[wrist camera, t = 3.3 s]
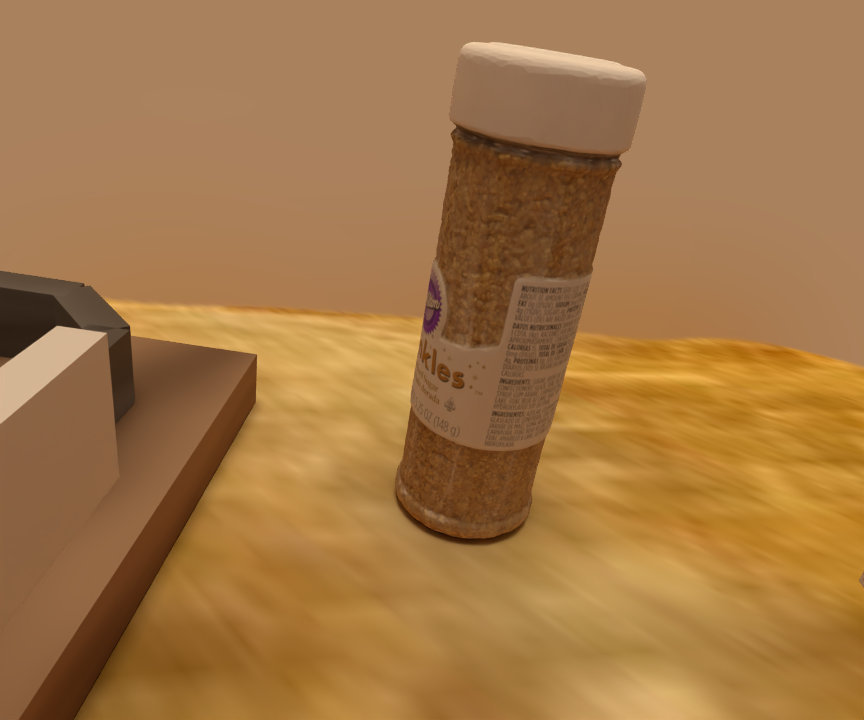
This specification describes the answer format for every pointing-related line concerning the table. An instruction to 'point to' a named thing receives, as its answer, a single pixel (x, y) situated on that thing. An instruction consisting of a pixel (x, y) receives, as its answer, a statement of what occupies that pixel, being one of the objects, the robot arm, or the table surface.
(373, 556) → the table surface
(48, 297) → the carrier board
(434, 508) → the sprinkles bottle
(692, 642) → the table surface
